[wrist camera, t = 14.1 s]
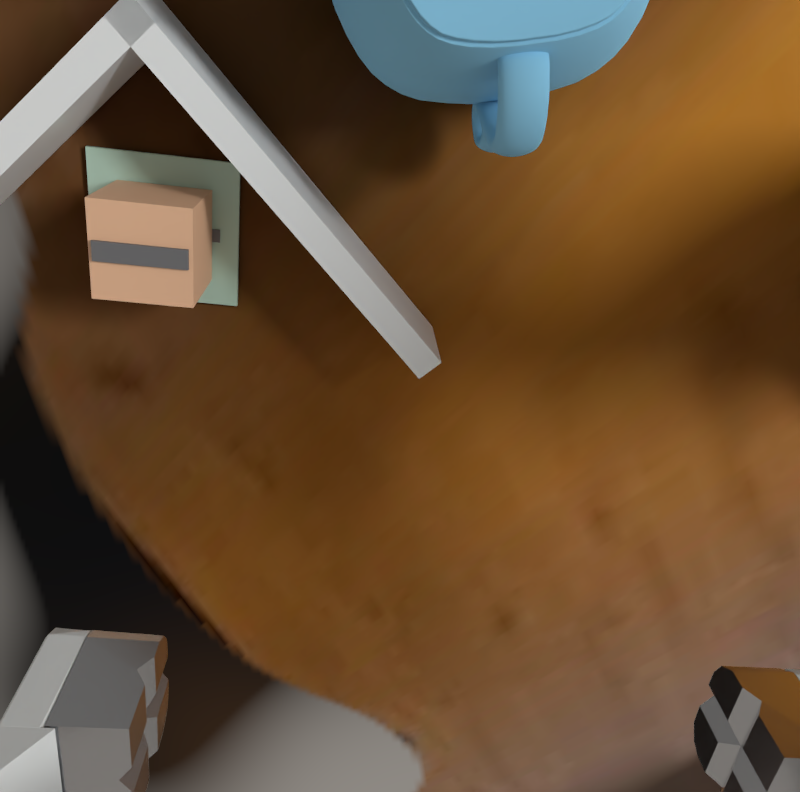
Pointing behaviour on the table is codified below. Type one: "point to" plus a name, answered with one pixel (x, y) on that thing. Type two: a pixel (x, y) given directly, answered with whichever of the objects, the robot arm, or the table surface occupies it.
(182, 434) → the table surface
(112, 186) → the cube
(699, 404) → the table surface
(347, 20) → the decorative pot
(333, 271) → the white l-shaped bracket
